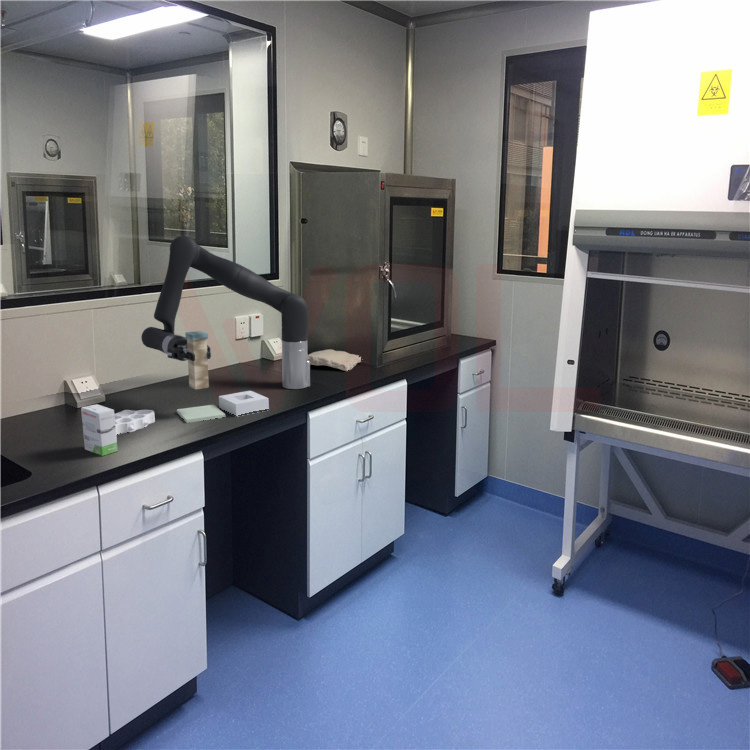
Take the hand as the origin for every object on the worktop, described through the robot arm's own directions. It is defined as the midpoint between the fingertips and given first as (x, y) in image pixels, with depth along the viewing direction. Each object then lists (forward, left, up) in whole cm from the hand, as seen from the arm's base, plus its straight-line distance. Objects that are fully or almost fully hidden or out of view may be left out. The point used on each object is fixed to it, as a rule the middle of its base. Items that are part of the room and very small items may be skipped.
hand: (201, 356), depth 204 cm
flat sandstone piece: (-64, -46, -20) cm, 82 cm away
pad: (0, -3, -19) cm, 19 cm away
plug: (+1, -3, -10) cm, 10 cm away
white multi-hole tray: (+23, -2, -20) cm, 31 cm away
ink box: (+32, +16, -19) cm, 41 cm away
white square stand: (-14, -3, -19) cm, 24 cm away
